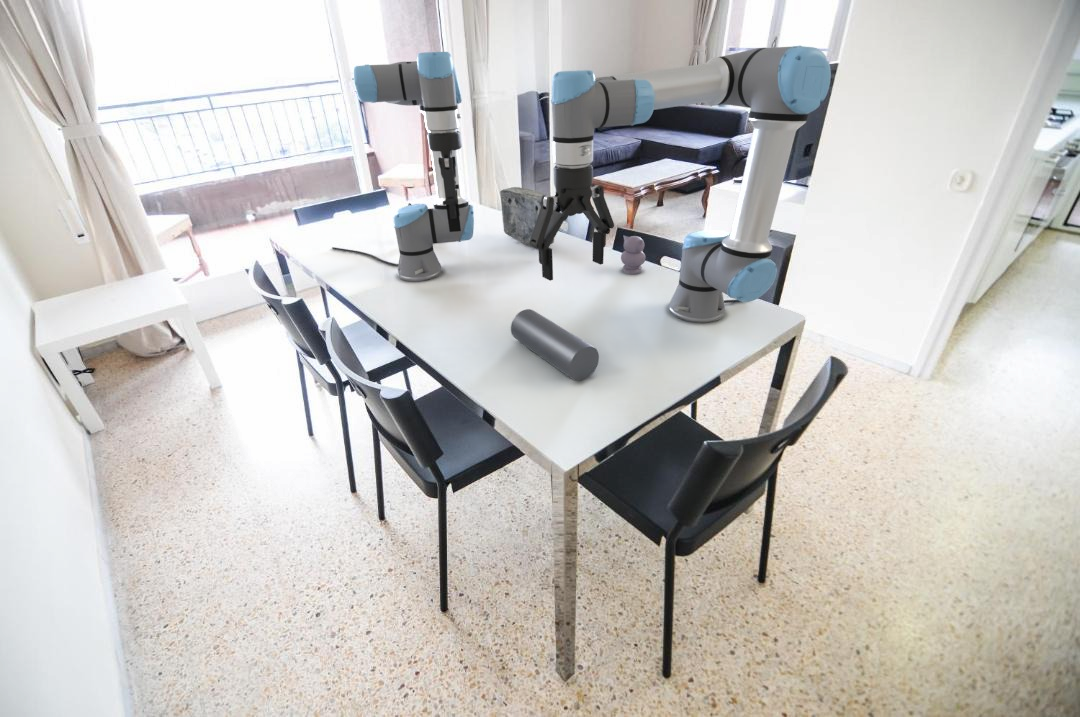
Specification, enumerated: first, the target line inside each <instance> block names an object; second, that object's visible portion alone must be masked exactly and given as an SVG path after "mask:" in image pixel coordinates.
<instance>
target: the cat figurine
mask: <svg viewBox="0 0 1080 717" xmlns="http://www.w3.org/2000/svg"><path fill="white" fill-rule="evenodd" d="M623 249H624V250H623V252H622V253H621V255H620V260H621V262H622V264H623V265H622V273H624V274H628V275H637V274H640V273H642V265H644V264H645V262H646V254H645V253H644V252H643V251H644V249H645V242H644V239H642V238H641V236H637V235H631V236H627V235H624V234H623Z"/></svg>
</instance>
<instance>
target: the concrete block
mask: <svg viewBox="0 0 1080 717" xmlns="http://www.w3.org/2000/svg"><path fill="white" fill-rule="evenodd" d="M499 193H500V203H501V218H502V225H503V232H504V234H505V235H507V236H508V237H510V238H512V239H514V240H515V241H517V242H520V243H521V244H522V245H525V246H528V247H530V248H533V247H532V246H530V245H529V242H530V239H531V236H532V233H533V230H534V227H535V224H536V221H537V218H538V215H539V212H540V209H541V198H542V196H543V195H546V196H550V195H549V194H547V193H544V192H540V191H537V190H533V189H530V188H524V187H519V186H513V187H507V188H503V189H501V190H500V191H499ZM554 209H555V207H554V208H553V210H554ZM552 215H553V214H552ZM551 217H552V216H551ZM554 243H555V238H554V239H553V241H552V243H551V244H550V245H552V244H554Z"/></svg>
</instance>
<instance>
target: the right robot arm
mask: <svg viewBox="0 0 1080 717" xmlns="http://www.w3.org/2000/svg"><path fill="white" fill-rule="evenodd" d="M831 79H832V70H831V65H830V62H829V61H828V59H827V56H826V54H825V53H824V52H823V51H822V50H820V48H817V47H814V46H803V45H793V46H777V47H776V46H775V47H757V48H756V47H755V48H752V49H748V50H744V51H740V52H736V53H731V54H726V55H722V56H715V57H712V58H709V59H708V60H707V62H705V63H700V64H694V65H685V66H678V67H670V68H663V69H653V70H646V71H638V72H631V73H630V72H629V73H623V74H615V75H610V76H601V77H595V72H594V71H593V70H590V69H589V70H588V69H584V70H583V69H582V70H578V69H577V70H562V71H557V72H555V73H554V75H553V76H552V80H551V81H552V82H551V100H550V102H551V103H550V104H551V113H552V114H551V115H552V116H551V117H552V163H553V164H554V167H553V186H554V188H555V193H554V195H549V196H546V195H543V196H542V198H541V209H540V212H539V215H538V218H537V221H536V224H535V227H534V230H533V233H532V236H531V239H530V242H529V245H530V246H532V247H531V248H535V249H537V250H538V262H539V264H540V265H541V275H542V276H541V277H542V278H544V279H545V280H548V281H550V282H551V281H553V280H554V267H553V266H554V265H553V263H554V262H553V248H551V247H550V246H551V245H552V244H553V243H552V241H553V239H554V240H555V237H556V235H557V234H558V232H559V230H560V228H561V227H562V225H563V223H564V221H566V220H568V217H573V216H575V215H576V214H577V215H581V214H583V215H584V216H585V217H586V218H587V220H588V222H589V223H590V224H591V225H592V227H593V228H594V229H595V230H596V231H593V232H592V262H593V263H596V264H598V265H604V255H605V254H604V251H605V248H606V245H607V235H610V233H611V229H614V227H615V222H614V220H613V217H612V214H611V212H610V209H609V207H608V204H607V201H606V198H605V190H604V189H605V188H604V187H603V186H602V185H599V184H593V183H594V166H593V165H592V163H593V162H594V134H595V129H599V128H600V129H601V128H610V127H621V126H631V127H633V126H634V125H638V124H639V125H640V124H644V123H646V122H648V121H649V120H650V118H651V117H652V115H653V112H654V110H656V111H657V110H663V109H668V108H669V109H670V108H674V107H681V106H682V107H683V106H689V105H695V104H702V103H705V104H706V105H707V106H709V107H714V106H715V107H716V106H734V107H741V108H748V109H750V110H749V114H748V121H749V123H751V126H752V128H753V130H752V133H751V134H752V135H751V139H750V143H749V148H748V152H747V156H746V162H745V166H744V170H743V176H742V180H741V185H740V189H739V193H738V197H737V202H736V207H735V211H734V215H733V220H732V225H731V229H730V233H729V232H728V231H724V230H713V229H712V230H711V229H709V230H698V231H694V232H690V233H687V235H686V236H685V237H684V240H683V244H682V247H681V249H682V250H681V258H680V259H681V260H680V267H679V268H680V270H679V278H678V286H677V287H676V289H675V291H674V293H673V295H672V296H671V299H670V302H669V306H668V309H669V313H670V314H671V315H672V316H674V317H675V318H677V319H679V320H682V321H685V322H688V323H689V322H690V323H696V324H697V323H698V324H706V323H708V324H709V323H713V322H717V321H719V320H721V319H722V318H724V315H725V311H726V310H725V307H726V305H725V304H730V303H731V304H733V303H735V304H736V303H741V302H742V303H748V302H749V303H750V302H753V301H756V300H757V299H759V298H761V297H762V296H763V295H764V294H766V293H767V292H768V291H769V290H770V288H771V287H772V286H773V284H774V282H775V280H776V278H777V275H778V267H777V264H776V262H774V261H773V260H772V259H771V255H772V253H773V252H772V251H773V246H772V244H771V242H770V241H769V236H770V233H771V230H772V225H773V221H774V217H775V213H776V209H777V206H778V202H779V198H780V194H781V190H782V186H783V182H784V179H785V175H786V171H787V167H788V163H789V159H790V155H791V153H792V152H791V151H792V148H793V144H794V141H795V137H796V134H797V131H798V130H799V128H801V127H803V125H805V124H806V123H807V121H808V117H809V114H810V113H812V112H814V111H816V110H817V109H819V107H820V106H821V102H824V100H825V99H826V97H827V95H828V92H829V89H830V85H831ZM591 199H592V202H593V204H592V203H591V202H590V200H591ZM593 205H594V206H593ZM553 208H554V210H553ZM595 209H596V211H595ZM552 214H553V215H552ZM551 216H552V217H551ZM551 243H552V244H551ZM530 246H529V247H530ZM723 294H725V295H727V297H729V298H731V299H726V300H724V295H723Z"/></svg>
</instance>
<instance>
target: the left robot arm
mask: <svg viewBox="0 0 1080 717" xmlns="http://www.w3.org/2000/svg"><path fill="white" fill-rule="evenodd" d="M455 68H456V67H455V65H454V64H453V58H452V54H451V53H450V52H449V51H429V52H428V51H425V52H419V53H418V54H417V55H416V60H414V61H412V60H411V61H398V62H394V63H390V64H364V65H355V66H354V68H353V69H352V76H353V82H354V87H355V91H356V95H357V98H358V100H359V101H360V102H361V103H371V104H376V103H387V104H393V105H399V106H407V107H408V106H413V107H415V106H419V112H420V113H421V114H422V115H423V116H424V124H425V129H426V131H427V135H426V136H427V142H428V149H429V150H430V155H431V156H430V157H431V162H432V169H433V179H434V184H435V191H436V198H435V200H433V207H432V208H429V207H428V205H427V204H425V203H413V204H411V205H409V206H408V205H406V206H403V207H401V208H398V209H397V210H396V211H394V213H393V216H392V219H393V228H394V230H395V231H394V232H395V236H396V241H397V247H398V251H399V259H398V263H394V262H389V261H386V260H384V259H381V258H379V257H377V256H376V255H373V254H370V253H367V252H364V251H359V250H353V249H348V248H347V249H346V248H340V247H336V246H335V247H333V246H332V247H331V249H332V250H336V251H342V252H349V253H355V254H360V255H364V256H367V257H370V258H373V259H375V260H377V261H378V262H380V263H383V264H386V265H390V266H393V267H397V276H398V278H399V279H400V280H402V281H406V282H413V283H414V282H425V281H429V280H432V279H435V278H438V277H439V276H440V275H441V274H442V273H443V268H442V264H441V263H440V260H439V259H438V256H437V254H436V252H435V250H434V245H436V244H444V243H445V244H447V243H455V242H458V243H461V242H465V241H470V240H471V239H472V238H473V237H474V228H475V215H474V211H475V209H474V206H473V205H472V204H469V199H468V198H467V197H465V196H464V193H463V185H462V184H463V183H462V175H461V166H460V158H459V150H460V149H461V148H462V146H463V145H462V144H463V143H462V136H461V132H460V131H459V129H460V121H459V119H461V118H462V115H461V113H458V111H459V109H458V108H459V106H458V105H459V104H461V103H462V93H461V89H460V84H459V80H458V76H457V72H456V69H455Z"/></svg>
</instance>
